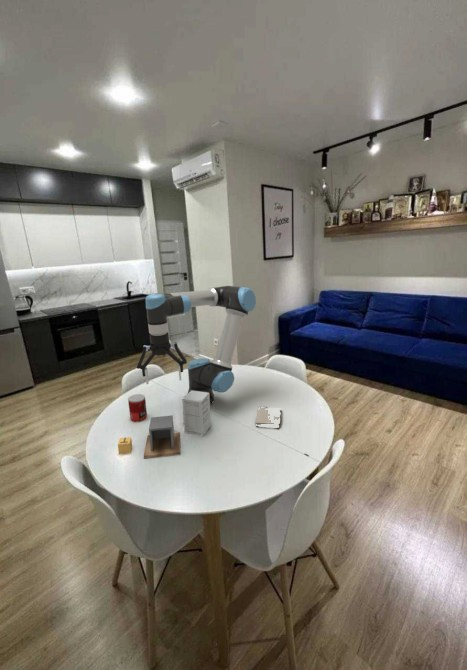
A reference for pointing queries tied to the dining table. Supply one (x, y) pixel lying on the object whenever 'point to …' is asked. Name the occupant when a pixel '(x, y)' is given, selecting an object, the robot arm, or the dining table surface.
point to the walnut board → (162, 447)
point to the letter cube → (125, 445)
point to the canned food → (137, 407)
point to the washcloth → (263, 417)
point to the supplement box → (196, 412)
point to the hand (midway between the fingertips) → (164, 381)
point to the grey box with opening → (161, 429)
